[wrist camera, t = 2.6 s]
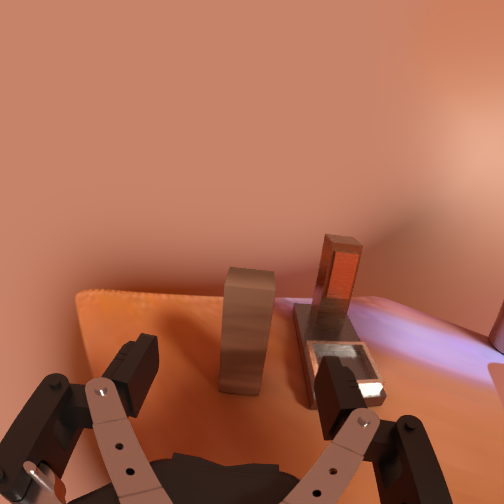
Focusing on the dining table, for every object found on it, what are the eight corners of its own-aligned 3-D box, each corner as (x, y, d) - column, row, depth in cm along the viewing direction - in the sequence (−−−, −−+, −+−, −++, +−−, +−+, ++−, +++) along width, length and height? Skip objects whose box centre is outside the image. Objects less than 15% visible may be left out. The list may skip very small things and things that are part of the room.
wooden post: (258, 395, 25) (275, 290, 21) (218, 391, 25) (224, 285, 21) (259, 367, 29) (273, 269, 26) (223, 363, 29) (230, 265, 26)
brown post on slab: (381, 405, 23) (431, 292, 19) (310, 409, 23) (348, 287, 19) (340, 314, 42) (359, 233, 38) (292, 311, 42) (306, 227, 38)
